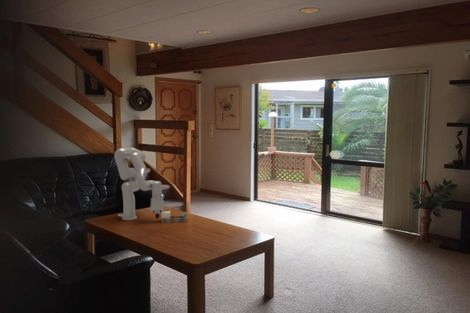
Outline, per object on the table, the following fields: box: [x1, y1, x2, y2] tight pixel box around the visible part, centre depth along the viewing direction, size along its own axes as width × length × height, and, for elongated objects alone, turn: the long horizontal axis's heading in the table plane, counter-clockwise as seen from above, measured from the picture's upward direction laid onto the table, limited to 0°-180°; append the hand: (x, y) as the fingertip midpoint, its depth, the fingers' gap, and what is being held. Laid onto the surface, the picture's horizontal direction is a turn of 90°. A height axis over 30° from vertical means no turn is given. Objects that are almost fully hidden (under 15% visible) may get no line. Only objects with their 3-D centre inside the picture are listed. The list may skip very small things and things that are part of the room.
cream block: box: [160, 210, 171, 220], centre depth 319 cm, size 7×4×6 cm, turn 100°
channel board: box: [161, 212, 188, 224], centre depth 320 cm, size 20×12×6 cm, turn 100°
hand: (157, 218), depth 318 cm, fingers closed
